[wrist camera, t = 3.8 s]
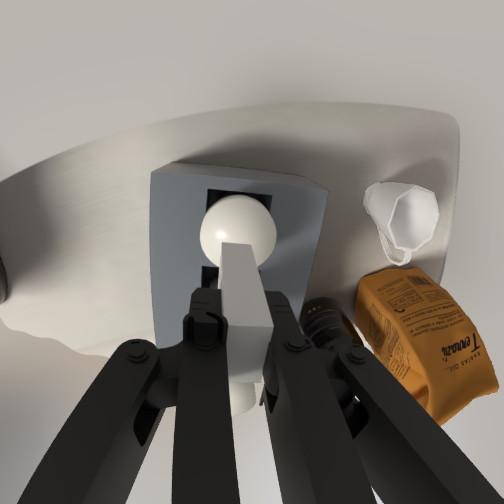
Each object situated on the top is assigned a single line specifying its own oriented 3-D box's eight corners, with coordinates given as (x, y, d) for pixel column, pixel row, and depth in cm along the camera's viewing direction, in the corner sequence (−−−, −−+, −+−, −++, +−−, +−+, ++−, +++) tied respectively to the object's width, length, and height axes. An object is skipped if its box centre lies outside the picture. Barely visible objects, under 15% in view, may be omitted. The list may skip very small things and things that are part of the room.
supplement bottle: (346, 320, 37) (380, 380, 26) (304, 341, 38) (327, 406, 27) (332, 286, 34) (370, 348, 24) (285, 310, 35) (308, 379, 24)
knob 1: (205, 229, 27) (198, 268, 19) (210, 177, 25) (202, 196, 17) (257, 233, 28) (270, 274, 20) (264, 183, 26) (282, 204, 18)
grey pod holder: (168, 320, 34) (158, 363, 27) (171, 162, 27) (151, 172, 19) (273, 326, 36) (283, 369, 29) (302, 176, 28) (328, 190, 21)
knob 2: (198, 352, 29) (194, 414, 21) (199, 315, 27) (192, 381, 19) (245, 355, 29) (251, 416, 22) (250, 319, 27) (260, 383, 20)
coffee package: (411, 314, 39) (485, 410, 19) (345, 327, 38) (410, 452, 18) (426, 260, 35) (526, 351, 15) (356, 267, 34) (458, 396, 14)
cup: (399, 168, 29) (441, 181, 21) (399, 242, 33) (435, 270, 26) (350, 174, 29) (387, 189, 21) (354, 253, 33) (385, 285, 25)
